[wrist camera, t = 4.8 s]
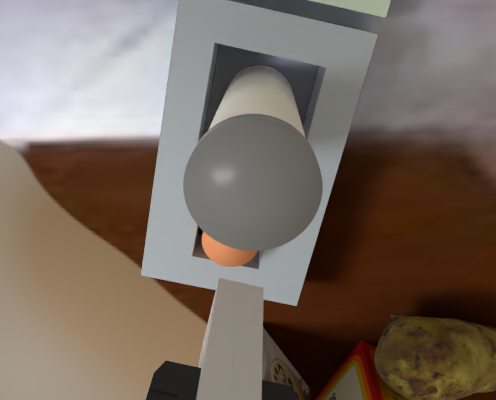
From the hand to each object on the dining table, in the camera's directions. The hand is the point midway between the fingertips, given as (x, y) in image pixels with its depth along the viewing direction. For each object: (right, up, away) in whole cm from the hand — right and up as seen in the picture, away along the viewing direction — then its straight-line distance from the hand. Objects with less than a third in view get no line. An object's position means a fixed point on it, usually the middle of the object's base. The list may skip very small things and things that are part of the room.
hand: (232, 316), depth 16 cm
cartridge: (+1, +11, +18) cm, 21 cm away
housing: (0, +7, +19) cm, 21 cm away
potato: (+17, -7, +25) cm, 31 cm away
